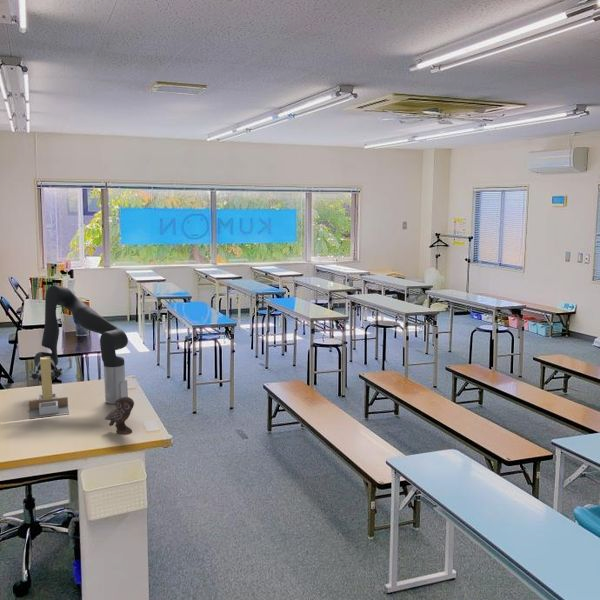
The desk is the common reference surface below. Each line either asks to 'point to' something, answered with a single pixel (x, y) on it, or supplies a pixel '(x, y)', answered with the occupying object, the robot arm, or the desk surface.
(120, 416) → the figurine
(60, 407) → the plate
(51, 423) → the desk surface
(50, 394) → the post
